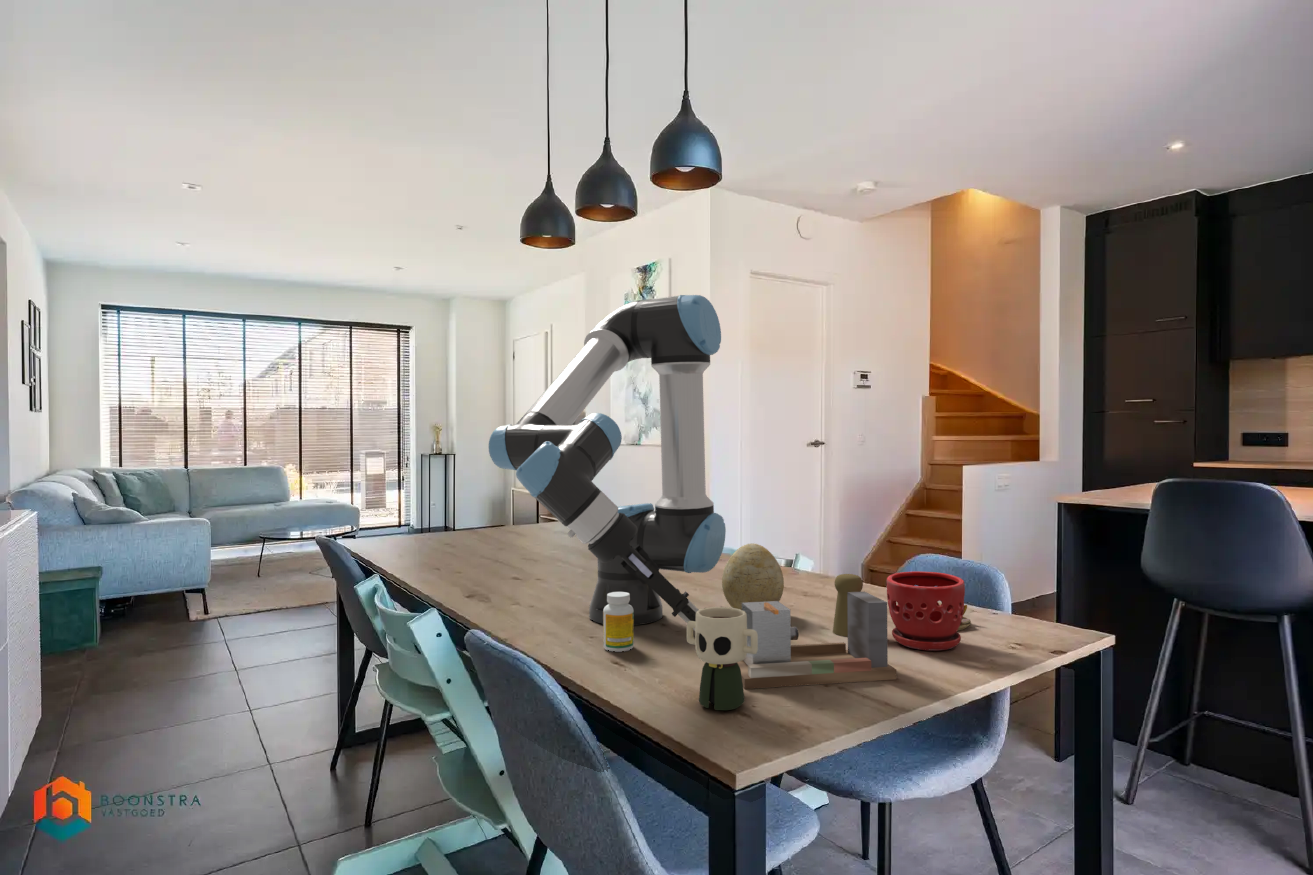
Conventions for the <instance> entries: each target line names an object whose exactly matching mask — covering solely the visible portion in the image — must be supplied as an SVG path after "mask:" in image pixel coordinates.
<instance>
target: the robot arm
mask: <svg viewBox="0 0 1313 875" xmlns="http://www.w3.org/2000/svg"><path fill="white" fill-rule="evenodd" d="M721 331H722V329H721V324H720V320H719V317H718V314H717V312H716V309H715V307H714V306H713V304H712V303H711V301H710V300H709V299H708V298H707V297H705V296H703V295H701V294H680V295H674V296H673V295H672V296H665V297H659V298H657V297H656V298H648V299H638V300H633V301H630V302H628V303H626V304H623V305H621V306H620V307H618V308H616V309H614V310H613V311H611V312H610V313H609V314H607V315H606V316H605V317H604V318H602V319H601V320H600V321H599V322H598V323H597V324H596V325H595V326H594V327H593V328H592V329H591V330H590V331H589V332H588V333H587V334H586V336H585V337H584V341H583V346H582V348H580V350H579V352H578V353H577V354H576V355H575V356H574V357H573V358H572V359H571V361H570V362H569V363H568V364H567V366H565V367H564V369H563V370H561V372H560V373H559V375H558V376H557V377H556V378H554V380H553V381H552V383H551V384H550V385H549V386H548V387H547V388H546V389H545V391H544V392H543V393H542V394H541V395H540V396H539V397H538V398H537V400H536V401H535V402H534V403H533V404H532V405H531V407H530V408H529V409H528V410H527V411H526V412H525V413H524V415H523V416H522V417H520V419H519V421H517V422H516V424H512V423H511V424H510V423H509V424H506V425H500V426H499V427H496V428H495V429H494V430H493V432H492V433H491V435H490V437H489V441H488V455H489V456H490V459H491V461H492V462H493V464H494V465H495V466H497V467H498V468H499V469H503V470H512V471H516V472H515V477H516V479H517V480H518V482H519V483H520V484H521V485H522V486H523V487H524V489H526V491H527V492H528V493H529V494H530V496H531V497H532V498H534V499H535V500H537V502H538V503H540V504H541V505H542V507H544V508H545V509H546V510H547V511H548V512H549V513H550V514H551V515H552V516H553V517H555V518H556V520H558V522H560V523H561V524H562V525H563V526H564V527H566V529H568V530H569V531H568V533H567V535H568V537H570V538H574V537H576V539H578V540H579V541H580V543H582V544H583V545H586V544H588V546H587V548H588V549H587V550H588V551H590V553H591V554H593V556H595V557H596V558H597V581H596V584H595V587H594V588H595V589H594V591H593V594H592V598H591V600H590V603H589V604H590V605H589V607H588V608H589V611H588V613H589V616H588V617H589V620H591V621H592V620H593V622H595V623H599V624H602V625H603V610H604V607H605V606H606V605H608V604H609V603H608V602H607V594H608V593H612V592H627V593H629V594H630V601H629V603H628V604H629V605H631V606H632V607H633V611H634V625H633V626H635V625H638V626H640V625H646V624H650V623H654V622H657V621H659V620H661V619H662V618H663V603H662V601H664V602H665V603H666V604H667V605H668V606H669V607H670V608H671V609H672V610H673V611H672V612H671V615H672V616H673V617H674V618H676V617H677V616H679V617H680V618H681V619H682V620H683V621H684V622H685V623H686V624H687V622H688V621H696V612H697V611H698V610H700V609H699V608H698V607H697V606H696V605H695V603H693V602H692V601H691V600H690V599H689V598H688V597H689V596H690V594H689V592H687V591H686V590H685V591H684V593H681V591H680V589H678V588H676V587H675V586H674V585H673V584H672V583H671V582H670V580H668V579H667V578H666V577H665V576H664V575H663V574H662V573H661V572H660V570H662V571H674V572H675V571H676V572H685V573H686V574H692V573H701V574H702V573H708V572H710V571H711V570H713V569H715V567H716V566H717V564H718V562H720V558H721V556H722V553H723V550H724V548H725V547H724V546H725V542H726V532H727V531H726V523H725V519H724V517H723V516H722V515H721V514H719V513H717V512H715V510H714V509H715V508H714V507H715V506H714V504H715V503H714V502H713V501H712V500H711V499H710V497H708V495H707V493H706V492H707V491H706V454H705V453H706V452H705V450H706V449H705V413H704V411H705V409H704V408H705V407H704V406H705V405H704V404H705V403H704V372H705V371H706V370H707V369H708V368H709V367H711V356H713V355H715V354H716V353H718V351H719V350H720V349H721V343H722V332H721ZM639 359H650V360H651V361H650V362H651V363H650V365H651V368H652V369H653V370H655V371H656V373H657V374H658V377H659V378H658V379H659V380H658V382H659V384H658V385H659V410H660V411H659V412H660V413H659V414H660V417H659V418H660V421H659V422H660V453H661V455H660V456H661V490H662V493H661V494H662V495H661V497H660V498H658V500H657V501H656V502H655V504H653V503H648V502H647V503H646V502H645V503H637V504H636V503H635V504H629V505H622V506H621V505H620V506H617V505H616V504H615V503H614V502H613V501H612V500H611V499H610V498H609V497H608V496H607V495H606V494H605V493H604V492H603V490H601V489H600V488H599V487H597V485H596V484H595V483H594V482H593V480H594V479H595V478H596V476H597V475H598V474H599V473H600V472H601V470H602V469H604V467H605V466H606V465H607V464H608V463H609V462H610V461H611V460H612V459H613V458H614V455H615V454H616V452H617V450H618V449H619V448H620V447H621V443H622V439H623V437H622V431H621V429H620V427H619V425H618V424H617V422H616V421H615V420H614V419H613V418H611V417H610V416H608V415H607V414H604V413H601V412H592V413H590V414H589V415H587V416H585V417H584V418H582V419H581V420H580V421H579V422H578V423H576V424H574V423H575V422H576V420H577V419H578V418H579V416H580V415H581V414H582V413H583V412H584V410H586V408H587V407H588V405H589V404H590V403H591V402H592V400H593V399H594V398H595V397H596V395H597V394H598V392H600V390H601V389H602V388H603V386H604V385H605V384H606V383H607V381H608V380H609V378H610V377H611V376H612V375H613V374H614V373H615V372H619V371H621V370H623V369H624V368H625V367H626V365H628V363H629V362H632V361H635V360H639ZM575 535H576V536H575ZM661 599H662V601H661ZM693 632H695V628H693Z"/></svg>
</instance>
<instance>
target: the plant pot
mask: <svg viewBox="0 0 1313 875" xmlns="http://www.w3.org/2000/svg"><path fill="white" fill-rule="evenodd" d="M965 587H966V586H965V580H963V579H962V578H961V577H959V576H956V575H953V574H949V573H943V572H935V571H918V570H917V571H916V570H915V571H902V572H896V573H892V574H890V575H888V576H887V577H886V597H887V598H886V599H887V608H888V611H889V615H890V618H891V621H892V623H893V625H894V626H895V627H894V628H892V630H891V635H892V637H893V639H894V640H895V641H896V642H897V643H898V644H900V645H902V646H905V647H907V648H910V649H915V650H920V651H927V652H930V651H931V652H935V651H936V652H937V651H946V650H951V649H953V648H955V647H956V646H958V645H959V643H960V642H961V639H962V636H961V634H960V633H959V632H958V631H959V630H958V628H959V626H960V624H961V621H962V618H963V617H964V615H963V613H964V605H965V595H966V588H965ZM939 603H941V605H939ZM957 630H958V631H957Z"/></svg>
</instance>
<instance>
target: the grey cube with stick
mask: <svg viewBox="0 0 1313 875" xmlns="http://www.w3.org/2000/svg"><path fill="white" fill-rule="evenodd" d="M742 610H743V611H745V612H746V614H747V629H752V630H755V631H757V634H758V651H757V654H749V653H747V655H746V658H745V659H744V660H743V661H744V662H745V663H746V664H747V665H752V664H768V663H785V662H791V645H792V643H791V642H792V641H798V640H799V630H798V627H797V626H791V609H790V608H788V606H786V605H784V604H783V603H781V602H780V601H779V602H778V601H768V602H746V603H742ZM747 646H751V637H750V636H747Z"/></svg>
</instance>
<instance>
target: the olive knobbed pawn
mask: <svg viewBox="0 0 1313 875" xmlns="http://www.w3.org/2000/svg"><path fill="white" fill-rule="evenodd" d="M863 588H864V582H863V579H862V577H861V576H859V575H858V574H853V573H842V574H838V575H836V577H835V579H834V589H836V591H837V595H836V600H835V608H834V617H833V618H834V619H833V626H832V633H833V635H836V636H840V637H846V638H848V602H847V592H862V591H863Z"/></svg>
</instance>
